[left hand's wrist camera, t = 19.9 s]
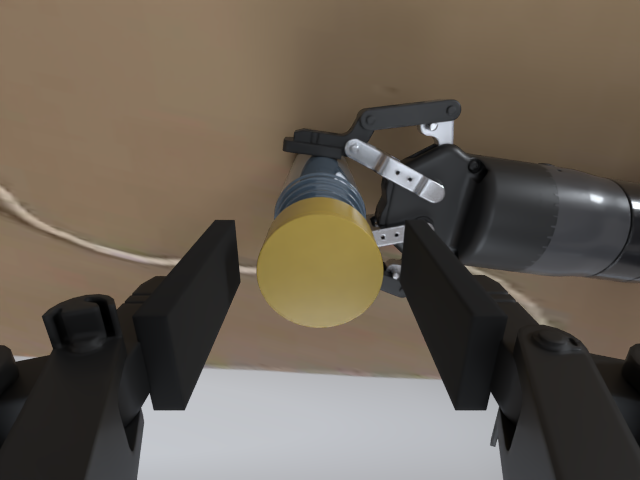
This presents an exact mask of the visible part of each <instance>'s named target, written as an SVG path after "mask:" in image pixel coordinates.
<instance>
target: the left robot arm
mask: <svg viewBox="0 0 640 480" xmlns="http://www.w3.org/2000/svg"><path fill="white" fill-rule="evenodd" d="M239 284H240V272H239V261H238V251H237V240H236V230H235V220H215V221H214V222H213V223H212V224H211V225H210V227H209V228H208V229H207V230H206V231H205V232H204V234H203V235H202V236H201V237H200V238H199V239H198V241H197V242H196V243H195V244H194V245H193V246H192V247H191V249H190V250H189V251H188V252H187V253H186V254H185V256H184V257H183V258H182V259H181V260H180V261H179V262H178V264H177V265H176V266H175V267H174V268H173V269H172V271H171V272H170V273H169V274H168V275H167V276H155V277H153V278H152V279H150V280H148V281H146V282H145V283H143V284H141V285H140V286H139V287H138V288H137V289H136V290H135V291H134V292H133V294H132V296H130V297H129V298H128V299H127V300H126V301H125V304H122V305H121V306H120V307H119V308H118V309H117V310H116V306H115V302H114V299H113V298H111V297H110V296H108V295H101V294H94V295H85V296H80V297H76V298H72V299H69V300H67V301H64V302H61V303H59V304H57V305H56V306H54V307H52V308H50V309H49V310H48V311H47V312H46V313H45V314H44V315H43V316H42V318H43V321H44V324H45V327H46V330H47V333H48V335H49V338H50V341H51V344H52V347H53V350H52V352H51V354H50V355H48V356H43V357H38V358H33V359H27V360H22V361H18V362H15V359H14V357H13V354H12V352H11V349H9V348H8V347H6V346H4V345H0V480H137V474H138V466H139V458H140V450H141V443H142V435H143V427H144V419H143V413H142V410H141V407H142V405H143V403H144V402H145V400H146V398H147V396H148V395H149V393H150V396H151V400H152V404H153V409H154V410H185V408H186V406H187V403H188V401H189V399H190V397H191V394H192V392H193V390H194V387H195V385H196V383H197V381H198V378H199V376H200V374H201V371H202V369H203V367H204V364H205V362H206V360H207V358H208V355H209V353H210V351H211V348H212V346H213V344H214V341H215V339H216V337H217V335H218V332H219V330H220V328H221V325H222V323H223V321H224V318H225V316H226V314H227V312H228V309H229V307H230V305H231V302H232V300H233V298H234V296H235V293H236V291H237V289H238V286H239ZM400 284H401V286H402V289H403V291H404V293H405V295H406V298H407V300H408V302H409V305H410V307H411V309H412V312H413V314H414V316H415V318H416V321H417V323H418V325H419V328H420V330H421V332H422V335H423V337H424V339H425V341H426V344H427V346H428V348H429V351H430V353H431V355H432V358H433V360H434V362H435V364H436V367H437V369H438V371H439V374H440V376H441V378H442V381H443V383H444V385H445V387H446V390H447V392H448V394H449V397H450V399H451V401H452V404H453V406H454V408H455V410H486V409H487V405H488V400H489V396H490V392H491V393H492V395H493V396H494V398H495V400H496V401H497V403H498V405H499V409H498V413H497V417H496V421H495V425H494V429H493V433H492V437H491V443H490V445H491V446H494V447H495V446H496V442H497V439H498V442H499V449H500V457H501V465H502V473H503V480H640V344H635V345H634V346H632V347H630V349H629V352H628V354H627V357H626V359H625V360H621V359H616V358H611V357H606V356H601V355H595V354H591V353H589V352H588V350H587V348H586V347H585V346H584V345H583V343H582V342H581V341H580V340H578V339H577V338H575V337H574V336H572V335H571V334H569V333H567V332H564V331H562V330H560V329H558V328H554V327H550V326H546V325H539V324H538V323H537V322H536V321H535V320H534V319H533V318H532V317H531V316H530V315H529V314H528V313H527V312H526V310H525V309H524V308H523V307H522V306H521V305H520V304H519V303H518V302H516V301H515V299H514V298H513V297H512V296H511V295H510V294H508V292H507V291H506V290H505V289H504V288H503V287H502V286H501V285H500V284H499V283H498V282H496V281H494V280H492V279H491V278H489V277H487V276H485V275H472V274H471V273H470V272H469V271H468V269H467V268H466V267H465V266H464V265H463V264H462V262H461V261H460V260H459V259H458V258H457V257H456V256H455V254H454V253H453V252H452V251H451V250H450V249H449V247H448V246H447V245H446V244H445V243H444V242H443V241H442V239H441V238H440V237H439V236H438V235H437V234H436V232H435V231H434V230H433V229H432V228H431V227H430V225H429V224H428V223H427V222H426V221H425V220H405V230H404V240H403V251H402V261H401V272H400Z"/></svg>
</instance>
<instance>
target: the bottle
mask: <svg viewBox="0 0 640 480" xmlns="http://www.w3.org/2000/svg"><path fill="white" fill-rule="evenodd" d="M313 197H327V198H333V199H337V200H340V201H342V202H345V203H347V204H349V205H350V206H352V207H353V208H355V209H356V210H357V211H358V212H359V213H360V214H362V216H363V217H364V218H365V219H366V210H365V205H364V202H363V200H362V197H361V195H360V192H359V190H358V188H357V185H356V183H355V180H354V178H353V176H352V173H351V171H350V169H349V166H348V164H347V161H346V159H345V157H344V156H342V157H341V160H339V159H332V158H327V157H319V156H312V155H305V154H298V155H297V156H296V158H295V160H294V162H293V164H292V167H291V169H290V172H289V174H288V176H287V179H286V181H285V183H284V186H283V188H282V191H281V193H280V195H279V198H278V200H277V203H276V206H275V212H274V220H275V218H276V217H277V216H278V215H279V214H280V213H281V212H282V211H283V210H284V209H285V208H287V207H288V206H290V205H292V204H293V203H296V202H298V201H300V200H304V199H307V198H313Z"/></svg>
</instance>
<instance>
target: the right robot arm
mask: <svg viewBox="0 0 640 480" xmlns="http://www.w3.org/2000/svg"><path fill="white" fill-rule="evenodd" d="M460 113H461V105H460V103H459V102H458V101H456V100H431V101H423V102H414V103H406V104H398V105H389V106H381V107H373V108H365V109H362V110H360V111H359V112H358V114H357V118H356V119H355V121H354V123H353V125H352V127H351V128H350V130H349V131H347V132H346V133H343V134H338V133H331V132H324V131H318V130H311V129H304V128H303V129H299V130H296V131H295V132H294V137H285V138H284V142H283V151H286V152H291V153H298V154H305V155H312V156H319V157H327V158H332V159H339V160H341V157H342V156H345V157H349V158H351V159H353V160H355V161H357V162H359V163H360V164H362V165H364V166H366V167H368V168H370V169H372V170H373V171H375V172H376V173H378V174H380V175H381V176H383V179H382V183H381V188H382V196H381V198H380V200H379V202H378V204H377V207H376V212H375V214H370V215H366V221H367V222H368V224H369V226H370V228H371V230H372V233H373V235H374V238H375V240H376V243H377V246H378V247H381V246H387V245H392V244H393V245H394V246H395V247H396V248H397V249H398V250H399V251H400V252H401V253H402V251H403V240H404V230H405V220H425V221H426V222H427V223H428V224H429V225H430V227H431V228H432V229H433V230H434V231H435V232H436V234H437V235H438V236H439V237H440V238H441V239H442V241H443V242H444V243H445V244H446V245H447V246H448V247H449V249H450V250H451V251H452V252H453V253H454V254H455V256H456V257H457V258H458V259H459V260H460V261H461V262H462V264H463V265H467V266H475V267H482V268H490V269H498V270H505V271H513V272H521V273H528V274H536V275H544V276H578V277H587V278H594V279H602V280H609V281H617V282H625V283H640V183H636V182H630V181H623V180H616V179H609V178H603V177H598V176H594V175H591V174H588V173H585V172H581V171H578V170H573V169H568V168H561V167H555V166H553V165H551V164H545V163H539V164H535V163H528V162H521V161H514V160H508V159H501V158H494V157H487V156H481V155H474V154H468V153H465V152H464V151H462V150H461V149H460V148H459V147H458V146H456V145H454V144H453V132H454V120H455V119H457V118H458V116H459V115H460ZM414 125H417V130H418V131H419V132H420V133H421V134H424V135H427V136H432V137H433V139H434V143H435V144H433V145H431V146H429V147H427V148H425V149H423V150H421V151H419V152H417V153H415V154H413V155H411V156H409V157H407V158H405V159H403V160H399V159H397V158H395V157H394V156H392V155H390V154H388V153H386V152H384V151H383V150H381V149H379V148H377V147H375V146H373V145H371V144H369V143H368V141H369V139H370V137H371V136H372V134H373V132H374V130H380V129H388V128H397V127H405V126H414ZM375 222H376V223H375ZM382 236H383V237H382ZM401 261H402V259H400V260H395V259H389V260H387V261H386V262H383V268H384V272H383V281H382V285H381V288H380V290H382V291H385V292H387V293H390V294H393V295H395V296H398V297H402V298H403V297H406V295H405V293H404V291H403V289H402V286H401V284H400V272H401Z"/></svg>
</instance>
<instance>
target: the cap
mask: <svg viewBox="0 0 640 480" xmlns="http://www.w3.org/2000/svg"><path fill="white" fill-rule="evenodd" d="M383 272H384V268H383V260H382V257H381V253H380V251H379V248H378V246H377V243H376V240H375V238H374V235H373V233H372V230H371V228H370V226H369V224H368V222H367V221H366V219H365V218H364V217H363V216H362V214H360V213H359V212H358V211H357V210H356V209H355V208H353V207H352V206H350V205H349V204H347V203H345V202H342V201H340V200H337V199H333V198H327V197H313V198H307V199H304V200H300V201H298V202H296V203H293V204H292V205H290V206H288V207H287V208H285V209H284V210H283V211H282V212H281V213H280V214H279V215H278V216H277V217H276V218H275V220H274V221H273V223H272V224H271V226H270V228H269V231H268V233H267V236H266V238H265V241H264V243H263V246H262V248H261V251H260V254H259V257H258V262H257V281H258V284H259V288H260V290H261V293H262V295H263V296H264V298H265V300H266V301H267V303H268V304H269V305H270V306H271V307H272V308H273V309H274V310H275V311H276V312H277V313H278V314H279V315H281V316H282V317H284V318H286V319H287V320H289V321H291V322H294V323H296V324H299V325H302V326H307V327H315V328H326V327H333V326H338V325H341V324H344V323H347V322H349V321H351V320H353V319H355V318H356V317H358V316H359V315H361V314H362V313H363V312H364V311H366V310H367V309H368V308H369V306H370V305H371V304H372V303H373V301H374V300H375V299H376V297H377V295H378V293H379V291H380V288H381V285H382V281H383Z"/></svg>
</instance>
